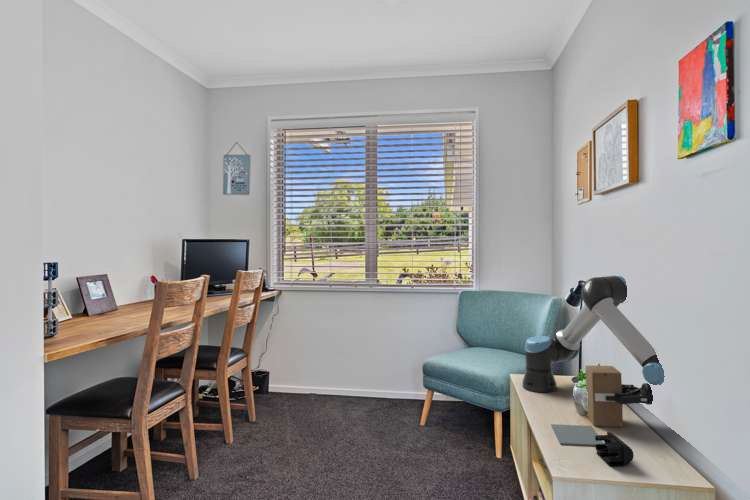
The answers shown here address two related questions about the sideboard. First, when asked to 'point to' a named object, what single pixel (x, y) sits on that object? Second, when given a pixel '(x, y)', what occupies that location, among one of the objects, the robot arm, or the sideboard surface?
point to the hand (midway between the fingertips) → (591, 392)
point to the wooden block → (604, 382)
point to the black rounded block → (613, 450)
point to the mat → (575, 435)
